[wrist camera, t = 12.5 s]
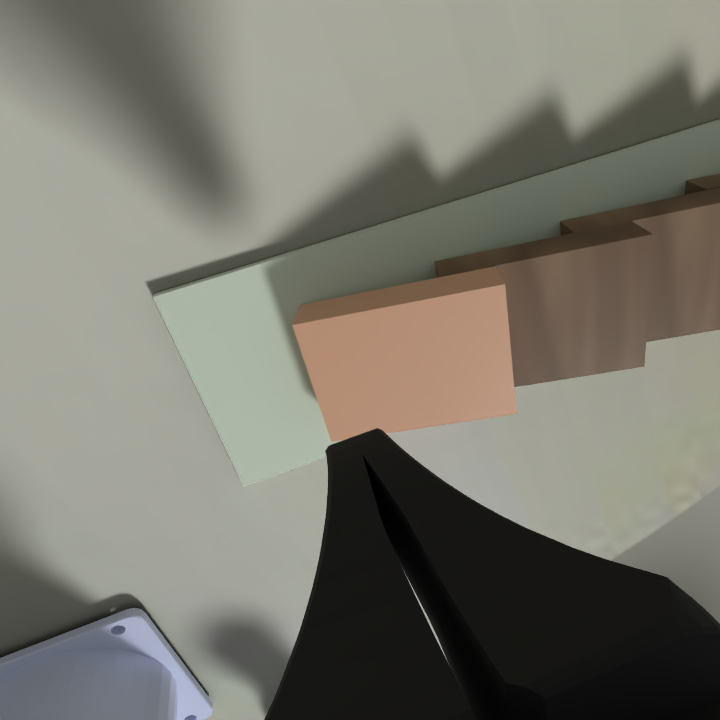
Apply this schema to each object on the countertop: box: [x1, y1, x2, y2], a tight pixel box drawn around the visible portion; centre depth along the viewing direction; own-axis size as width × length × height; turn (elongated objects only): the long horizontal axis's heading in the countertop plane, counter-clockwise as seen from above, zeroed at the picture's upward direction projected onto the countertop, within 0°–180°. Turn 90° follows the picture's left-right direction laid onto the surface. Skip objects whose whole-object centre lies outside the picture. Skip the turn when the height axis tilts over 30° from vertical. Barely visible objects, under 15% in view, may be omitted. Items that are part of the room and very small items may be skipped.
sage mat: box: [153, 119, 720, 487], centre depth 17 cm, size 24×8×1 cm, turn 103°
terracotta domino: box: [292, 266, 517, 442], centre depth 15 cm, size 1×4×6 cm
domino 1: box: [435, 221, 653, 387], centre depth 16 cm, size 1×4×6 cm
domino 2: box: [560, 187, 720, 342], centre depth 16 cm, size 1×4×6 cm
